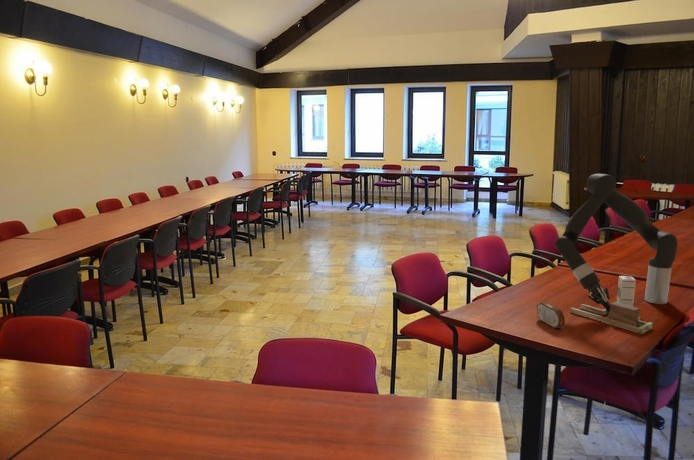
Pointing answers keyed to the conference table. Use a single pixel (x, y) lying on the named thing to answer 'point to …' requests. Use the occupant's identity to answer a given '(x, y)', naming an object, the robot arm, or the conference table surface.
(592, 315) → the lane
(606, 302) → the robot arm
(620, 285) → the syrup box
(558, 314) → the tin
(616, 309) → the block
